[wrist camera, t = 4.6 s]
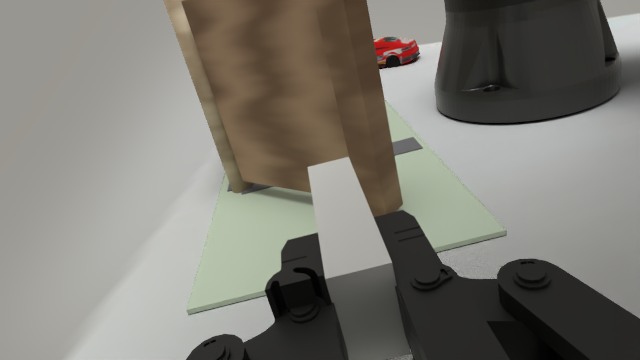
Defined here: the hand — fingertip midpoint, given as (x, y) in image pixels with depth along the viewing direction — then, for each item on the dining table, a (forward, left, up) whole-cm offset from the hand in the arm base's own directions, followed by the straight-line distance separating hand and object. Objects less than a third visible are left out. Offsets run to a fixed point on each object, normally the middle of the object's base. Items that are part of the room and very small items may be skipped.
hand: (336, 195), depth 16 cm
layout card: (0, -19, -7) cm, 20 cm away
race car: (-11, -52, -7) cm, 54 cm away
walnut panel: (+1, -13, -6) cm, 15 cm away
